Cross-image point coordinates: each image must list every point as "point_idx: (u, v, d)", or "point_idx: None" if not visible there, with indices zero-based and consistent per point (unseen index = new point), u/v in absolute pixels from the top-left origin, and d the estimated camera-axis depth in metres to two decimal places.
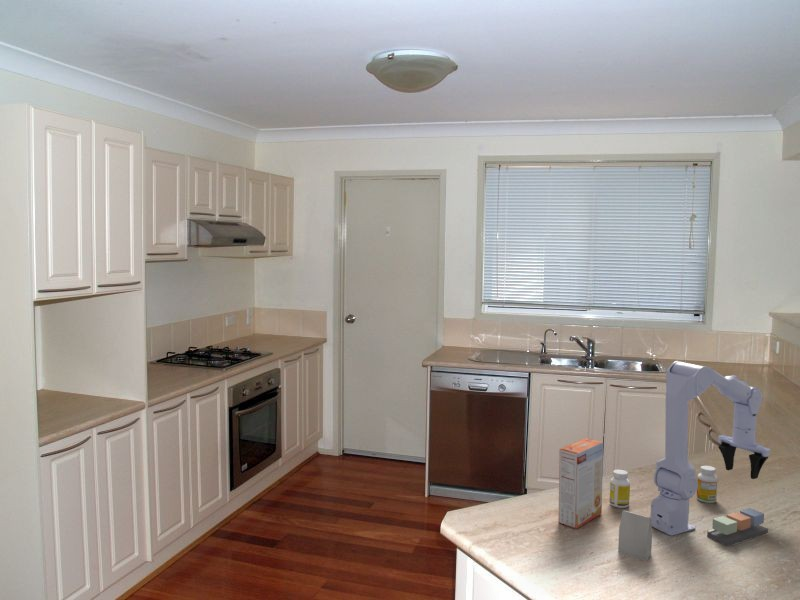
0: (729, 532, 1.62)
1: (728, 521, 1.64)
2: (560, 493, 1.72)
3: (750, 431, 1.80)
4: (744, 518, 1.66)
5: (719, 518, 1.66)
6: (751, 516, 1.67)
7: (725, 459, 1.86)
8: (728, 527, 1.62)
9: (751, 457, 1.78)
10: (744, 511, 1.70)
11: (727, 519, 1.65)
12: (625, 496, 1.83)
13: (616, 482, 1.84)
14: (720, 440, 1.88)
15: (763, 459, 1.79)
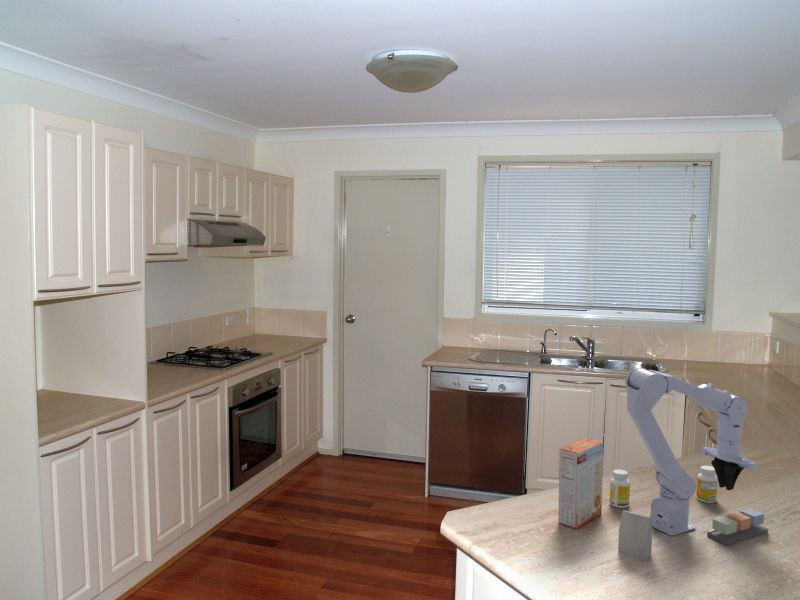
0: (729, 532, 1.62)
1: (728, 521, 1.64)
2: (560, 493, 1.72)
3: (735, 443, 1.69)
4: (744, 518, 1.66)
5: (719, 518, 1.66)
6: (751, 516, 1.67)
7: (718, 476, 1.73)
8: (728, 527, 1.62)
9: (726, 467, 1.70)
10: (744, 511, 1.70)
11: (727, 519, 1.65)
12: (625, 496, 1.83)
13: (616, 482, 1.84)
14: (704, 452, 1.78)
15: (739, 469, 1.71)
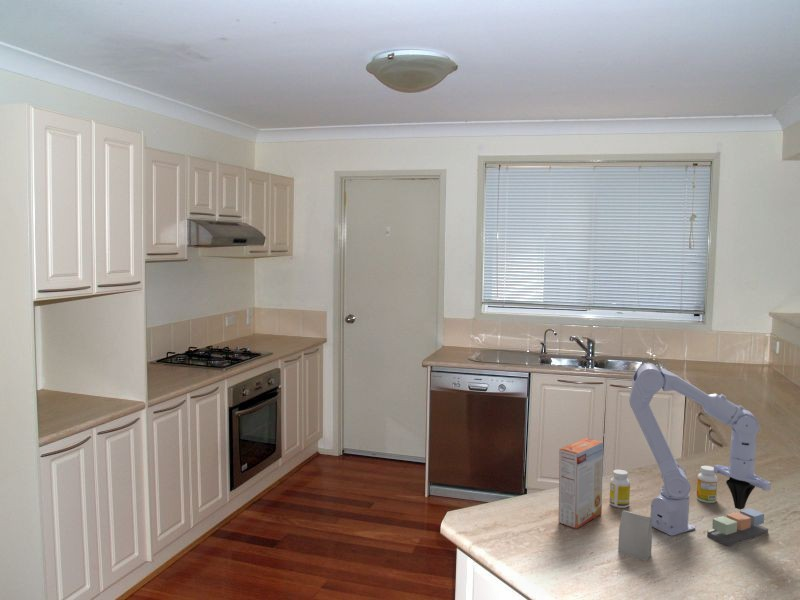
0: (729, 532, 1.62)
1: (728, 521, 1.64)
2: (560, 493, 1.72)
3: (749, 462, 1.63)
4: (744, 518, 1.66)
5: (719, 518, 1.66)
6: (751, 516, 1.67)
7: (734, 496, 1.66)
8: (728, 527, 1.62)
9: (737, 486, 1.64)
10: (744, 511, 1.70)
11: (727, 519, 1.65)
12: (625, 496, 1.83)
13: (616, 482, 1.84)
14: (716, 470, 1.71)
15: (750, 488, 1.65)
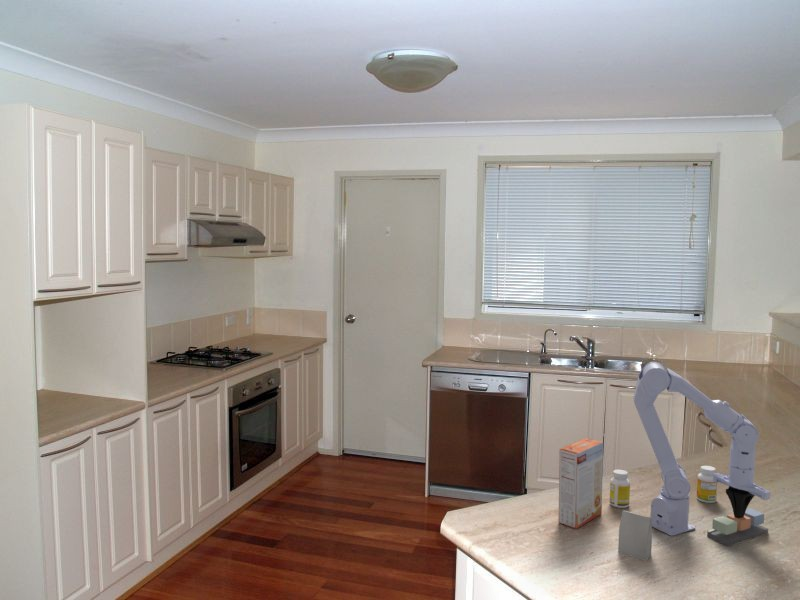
0: (729, 532, 1.62)
1: (728, 521, 1.64)
2: (560, 493, 1.72)
3: (748, 471, 1.63)
4: (744, 518, 1.66)
5: (719, 518, 1.66)
6: (751, 516, 1.67)
7: (733, 505, 1.66)
8: (728, 527, 1.62)
9: (736, 495, 1.64)
10: None
11: (727, 519, 1.65)
12: (625, 496, 1.83)
13: (616, 482, 1.84)
14: (715, 479, 1.71)
15: (749, 497, 1.65)
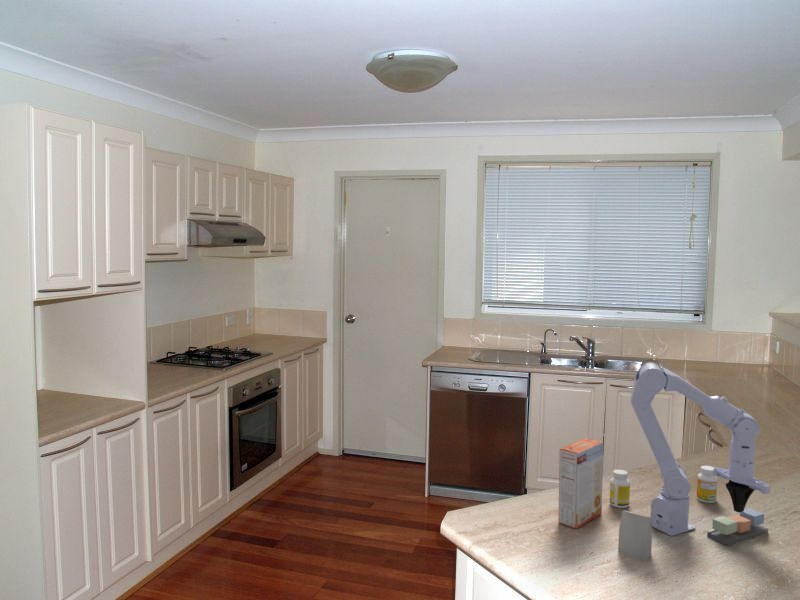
0: (729, 532, 1.62)
1: (728, 521, 1.64)
2: (560, 493, 1.72)
3: (748, 465, 1.63)
4: (744, 521, 1.66)
5: (719, 518, 1.66)
6: (751, 516, 1.67)
7: (733, 499, 1.66)
8: (728, 527, 1.62)
9: (736, 489, 1.64)
10: (744, 511, 1.70)
11: (727, 519, 1.65)
12: (625, 496, 1.83)
13: (616, 482, 1.84)
14: (715, 473, 1.71)
15: (749, 491, 1.65)
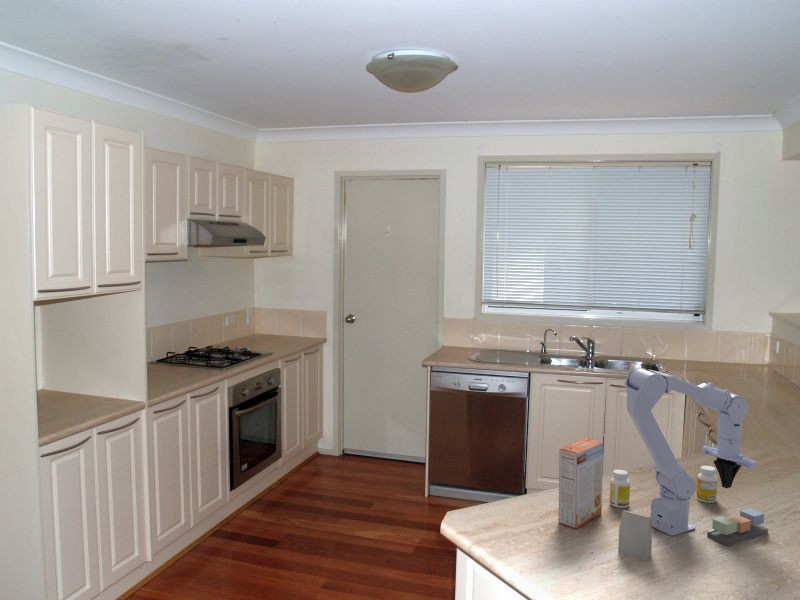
0: (729, 532, 1.62)
1: (728, 521, 1.64)
2: (560, 493, 1.72)
3: (735, 442, 1.69)
4: (744, 521, 1.66)
5: (719, 518, 1.66)
6: (751, 516, 1.67)
7: (721, 475, 1.73)
8: (728, 527, 1.62)
9: (724, 465, 1.70)
10: (744, 511, 1.70)
11: (727, 519, 1.65)
12: (625, 496, 1.83)
13: (616, 482, 1.84)
14: (704, 451, 1.78)
15: (737, 467, 1.71)
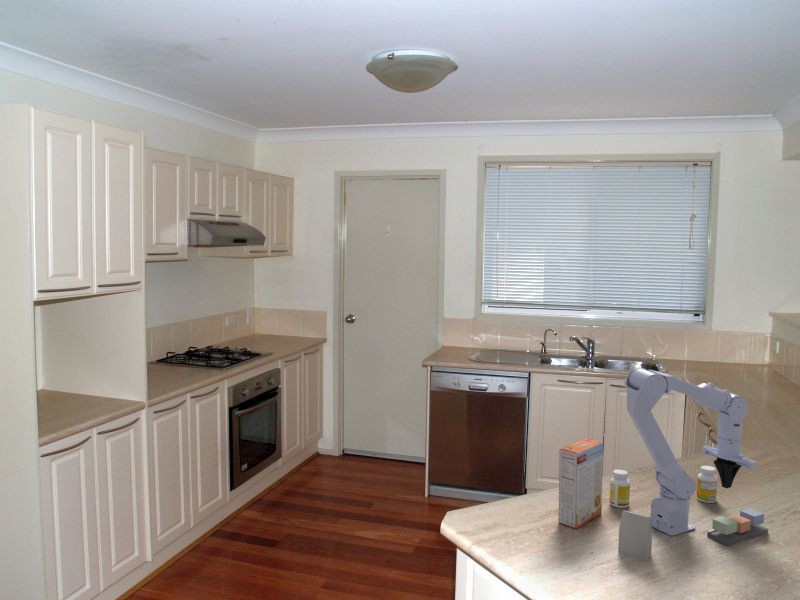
0: (729, 532, 1.62)
1: (728, 521, 1.64)
2: (560, 493, 1.72)
3: (735, 442, 1.69)
4: (744, 521, 1.66)
5: (719, 518, 1.66)
6: (751, 516, 1.67)
7: (721, 475, 1.73)
8: (728, 527, 1.62)
9: (724, 465, 1.70)
10: (744, 511, 1.70)
11: (727, 519, 1.65)
12: (625, 496, 1.83)
13: (616, 482, 1.84)
14: (704, 451, 1.78)
15: (737, 467, 1.71)
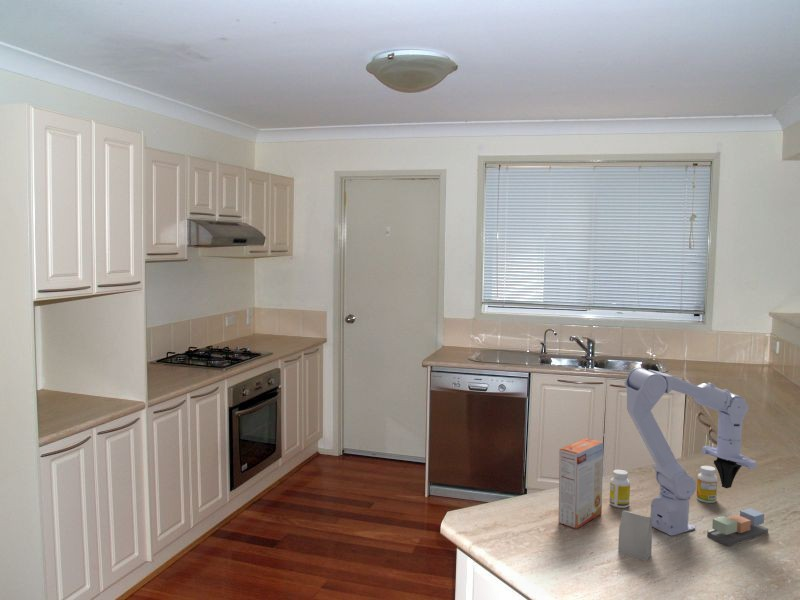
0: (729, 532, 1.62)
1: (728, 521, 1.64)
2: (560, 493, 1.72)
3: (735, 442, 1.69)
4: (744, 521, 1.66)
5: (719, 518, 1.66)
6: (751, 516, 1.67)
7: (721, 475, 1.73)
8: (728, 527, 1.62)
9: (724, 465, 1.70)
10: (744, 511, 1.70)
11: (727, 519, 1.65)
12: (625, 496, 1.83)
13: (616, 482, 1.84)
14: (704, 451, 1.78)
15: (737, 467, 1.71)
